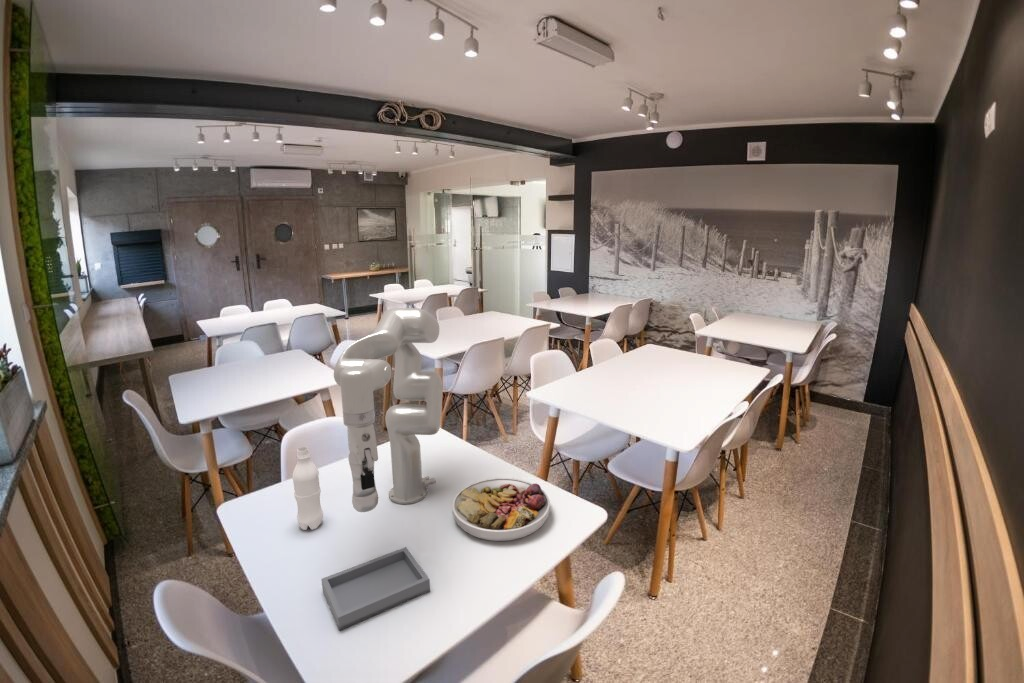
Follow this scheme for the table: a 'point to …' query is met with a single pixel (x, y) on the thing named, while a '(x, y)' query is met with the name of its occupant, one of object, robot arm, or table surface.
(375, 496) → the plastic bottle
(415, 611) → the table surface
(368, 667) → the table surface
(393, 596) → the tray
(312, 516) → the water bottle
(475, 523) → the bowl
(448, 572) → the table surface
